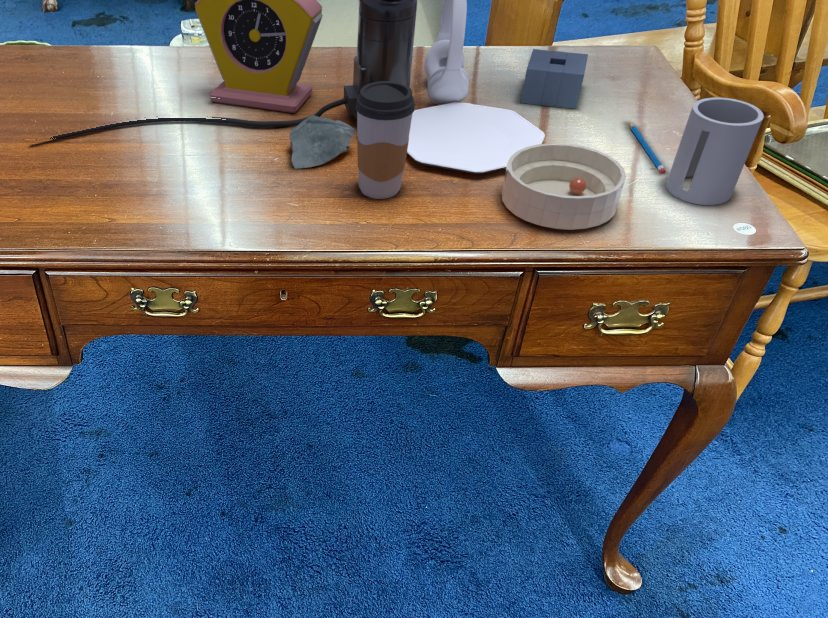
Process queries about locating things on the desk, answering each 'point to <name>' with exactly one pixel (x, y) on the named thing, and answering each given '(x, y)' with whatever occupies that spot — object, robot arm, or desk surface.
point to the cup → (714, 150)
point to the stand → (554, 78)
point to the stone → (319, 141)
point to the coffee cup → (383, 136)
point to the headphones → (448, 56)
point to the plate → (469, 137)
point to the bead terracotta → (577, 186)
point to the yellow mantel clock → (260, 49)
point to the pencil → (647, 149)
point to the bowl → (562, 186)
